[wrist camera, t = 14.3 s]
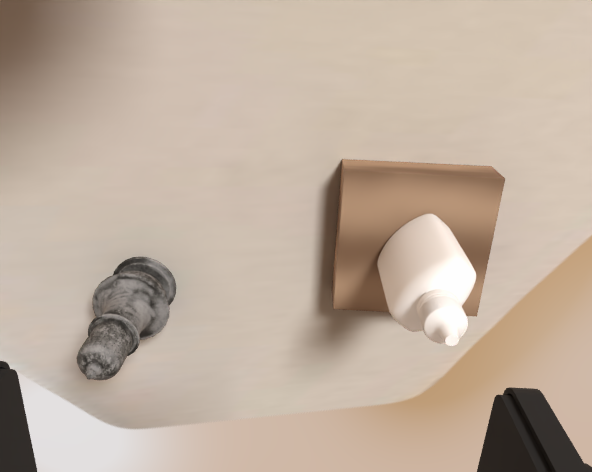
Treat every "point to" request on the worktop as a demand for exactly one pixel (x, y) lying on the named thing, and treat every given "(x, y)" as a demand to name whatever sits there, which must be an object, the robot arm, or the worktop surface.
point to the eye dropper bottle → (427, 279)
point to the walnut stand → (402, 209)
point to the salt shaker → (126, 315)
